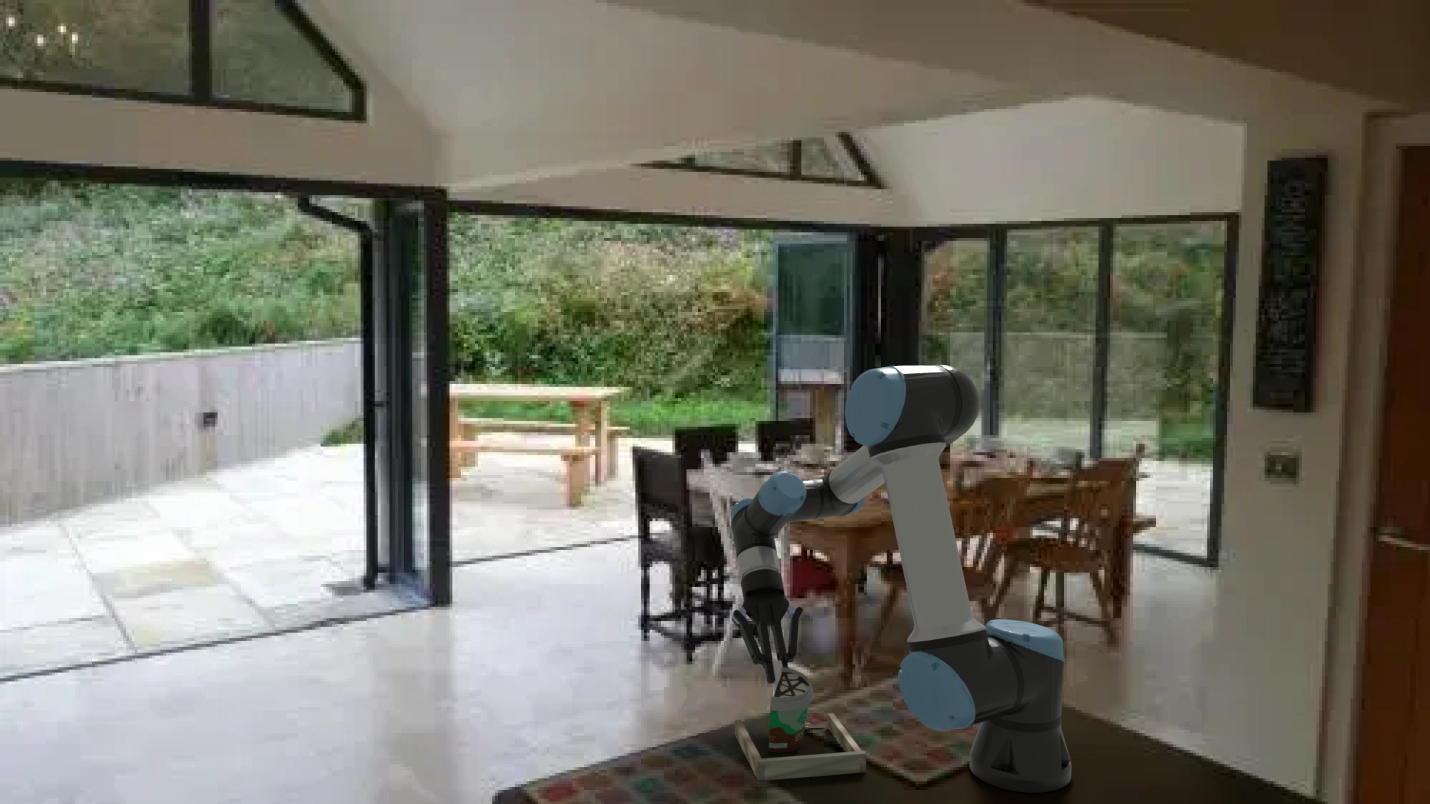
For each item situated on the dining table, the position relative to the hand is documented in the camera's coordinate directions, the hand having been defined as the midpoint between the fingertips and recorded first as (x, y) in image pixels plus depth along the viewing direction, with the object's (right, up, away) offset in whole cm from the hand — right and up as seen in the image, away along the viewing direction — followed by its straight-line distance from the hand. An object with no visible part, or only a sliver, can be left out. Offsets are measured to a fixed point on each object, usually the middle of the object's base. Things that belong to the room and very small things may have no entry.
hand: (782, 699), depth 185 cm
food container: (+1, -5, -5) cm, 8 cm away
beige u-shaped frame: (+2, -6, -9) cm, 11 cm away
